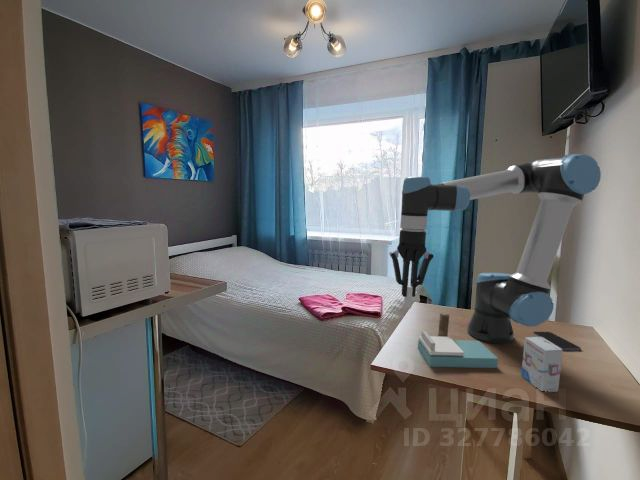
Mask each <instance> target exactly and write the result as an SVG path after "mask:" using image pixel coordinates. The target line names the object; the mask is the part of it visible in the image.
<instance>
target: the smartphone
mask: <svg viewBox="0 0 640 480" xmlns="http://www.w3.org/2000/svg"><path fill="white" fill-rule="evenodd" d="M533 333H534V335H535V336H536V337H543V338H545V339H546V340H548V341H550V342H551V343H553V344H555V345H556V346H558V347H559V348H561V349H562V350H563V352H564V351H565V352H567V351H571V352H572V351H573V352H574V351H578V352H579V351H581V350H582V348H581V347H580V346H578V345H577V344H575V343H573V342H571V341H568V340H567V339H565V338H563V337H561V336H559V335H557V334H555V333H553V332H552V331H532V334H533Z"/></svg>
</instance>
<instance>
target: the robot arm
mask: <svg viewBox="0 0 640 480" xmlns="http://www.w3.org/2000/svg"><path fill="white" fill-rule="evenodd" d="M601 175H602V174H601V168H600V166H599V165H598V161H596V159H595V158H593V157H592V156H591V155H589V154H585V153H570V154H565V155H564V154H563V155H557V156H550V157H549V156H547V157H541V158H538V159H534V160H531V161H528V162H524V163H520V164H516V165H512V166H509V167H508V168H507V169H505V170H501V171H494V172H491V173H486V174H480V175H475V176H470V177H465V178H460V179H454V180H449V181H443V182H440V183H434V184H432V183H431V178H430V177H428V176H407V177H405V178H404V180H403V184H402V190H401V212H400V225H399V228H400V231H399V237H398V238H399V240H398V246H397V247H396V249H394V250H393V251H390V252H389V253H388V254H389V256H390V258H391V259H392V265H393V269H394V276H395V281H396V283H397V284H398V285H400V286H401V296H402V297H404V301H403V305H404V307H405V309H412V305H413V304H412V303H413V300H412V299H413V298H415V297H416V291H417V290H416V289H417V287H418V286H422V285H423V283H424V281H425V277H426V275H427V272H428V268H429V266H430V262H431V261H432V260H433V258H434V254H433V253H431V252H429V251H428V250H427V247H426V239H427V232H426V231H425V230H427V229H428V227H427V226H428V214H429V213H428V212H429V211H447V212H448V211H450V212H457V211H459V212H461V211H464V210H466V209H467V208H468V206H469V205H470V201H473V200H477V199H482V198H487V197H492V196H498V195H502V194H507V193H511V194H513V195H517V194H522V193H523V194H524V193H533V194H534V193H535V194H536V193H537V194H536V195H537V196H538V198H539V199H540V203H539V206H538V209H537V210H536V211H537V212H536V214H535V217H534V220H533V223H532V226H531V229H530V232H529V234H528V238H527V240H526V243H525V246H524V249H523V252H522V255H521V257H520V259H519V260H520V261H519V263H518V266H517V268H516V272H514V273H512V274H510V273H503V272H481V273H479V274H478V275H477V280H476V283H475V285H476V287H475V288H476V289H475V299H474V308H473V309H474V310H473V313H472V315H471V317H470V319H469V322H467V323H468V324H467V328H466V332H467V333H468V334H469V336H471V337H473V338H474V339H478V341H482V342H483V341H484V342H487V343H491V344H492V343H493V344H499V345H500V344H509V343H510V344H511V343H512V342H513V341H514V335H515V334H514V329H513V326H512V321H513V322H514V323H516V324H520V325H522V326H525V327H530V328H531V327H538V326H539V325H541V324H544V323H545V322H546V321H548V320H549V318H550V317H551V315H552V314H553V312H554V302H553V299H552V297H551V296H550V295H549V294H550V291H551V287H550V285H549V283H548V280H549V279H548V278H549V276H550V274H551V270H552V268H553V266H554V261H555V259H556V257H557V255H558V251H559V249H560V245H561V242H562V239H563V237H564V234H565V233H566V232H565V231H566V228H567V225H568V223H569V221H570V217H571V214H572V212H573V209H574V207H576V206H578V205H579V204H581V203H582V202H583V199H584V197H585V195H588V194H589V193H593V191H595V190H596V189H597V188H598V186H599V184H600V182H601ZM399 255H400V257H401V258H402V263H403V265H402V274H401V269H400V268H401V267H400V263H399V259H398V258H399ZM422 257H423V259H422ZM420 259H422V262H421V265H420V269H419V264H420ZM410 264H411V265H410ZM410 266H411V267H410ZM410 268H411V269H410ZM418 269H419V272H418ZM409 275H410V277H409ZM409 278H410V284H409Z"/></svg>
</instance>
